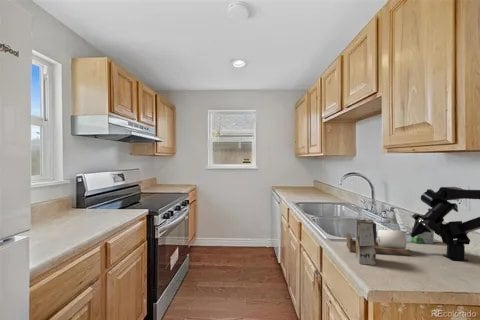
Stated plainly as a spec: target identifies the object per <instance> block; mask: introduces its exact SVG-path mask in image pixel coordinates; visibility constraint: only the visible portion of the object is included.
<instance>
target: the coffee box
mask: <svg viewBox="0 0 480 320" xmlns="http://www.w3.org/2000/svg"><path fill="white" fill-rule="evenodd" d="M355 241H356V252H355V259H356V260H357V262H358V264H361V265H369V266H370V265H372V266H373V265H374V266H376V263H377V261H376V258H377V256H376V255H377V254H376V242H377V223H375V222H374V221H373V220H372V219H355Z"/></svg>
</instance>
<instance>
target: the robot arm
mask: <svg viewBox="0 0 480 320" xmlns="http://www.w3.org/2000/svg"><path fill="white" fill-rule="evenodd" d="M463 199H466V200H467V199H469V200H480V189H464V188H462V187H457V186H440V187H439V189H438V190H437V191H434V190H432V189H430V188H429V189H426V191H425V192H423V193H422V194H421V196H420V200H421V202H423V203H424V204H426V205H427V206H428V207H429V208H428V209H427V212H426V213H425V214H419V213H414V214H413V215H412V216H411V218H414V219H415V223H414V226H413V229H412V228H411V233H410V237H411V238H412V237H415V236H417V235H419V234H421V233H424V232H430V233H431V230H433V231H434V234H436V236H439V237H440V238H441V241H442V243H443V244H445V245H446V254H442V256H443V257H445V258H447V259H449V260H451V261H455V262H456V261H459V262H461V261H462V262H463V261H469V259H468V258H466V257H465V253H466V251H465V245H470V243H471V239H470V238H469V236H468V234H470V233H471V232H474V231H478V230H480V216H478V217H474V218H472V219H470V220H469V219H468V220H466V221H464V222H463V221H462V220H455V221H454V220H452V221H448V222H446V223H444V221H445V219H444V218H445V217H446V216H447V215H448V214H449V213H451V211H455V212H456V213H458V212H459V208H458V206H459V205H458V204H457V203H455V202H454V203H452V202H450V201H457V200H463Z"/></svg>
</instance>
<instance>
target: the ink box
mask: <svg viewBox="0 0 480 320" xmlns="http://www.w3.org/2000/svg"><path fill="white" fill-rule="evenodd" d="M414 223H415V219H414V218H413V217H411V230H412V229H413V226H414ZM434 234H435V233H434V231H433V230H431V233H430V232H424V233H421V234H419V235H417V236H415V237H411V242H412V243H415V244H424V245H426V244H430V245H432V244H433V245H434V239H435V237H434Z"/></svg>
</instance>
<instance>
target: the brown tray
mask: <svg viewBox="0 0 480 320" xmlns="http://www.w3.org/2000/svg"><path fill="white" fill-rule="evenodd" d="M346 247H347V249H348V251H349V253H356V239H355V240H353V238H352V236H351V234H350V232H346ZM376 255H388V256H402V257H403V256H404V257H406V256H407V257H410V256H411V250H410V249H407V248H405V249H392V248H379V246H378V241H376Z"/></svg>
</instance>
